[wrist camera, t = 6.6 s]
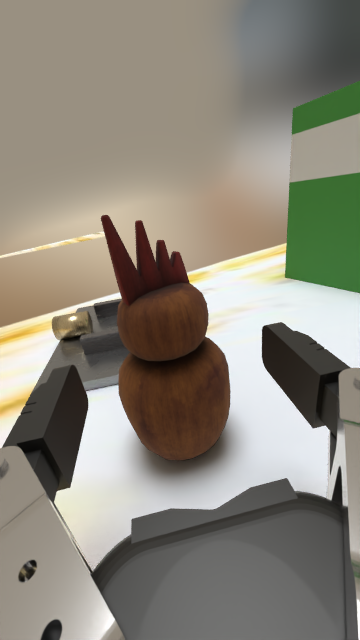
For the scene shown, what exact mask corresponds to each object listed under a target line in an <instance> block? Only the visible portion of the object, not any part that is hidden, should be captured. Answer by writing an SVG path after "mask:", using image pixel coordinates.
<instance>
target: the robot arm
mask: <svg viewBox="0 0 360 640" xmlns="http://www.w3.org/2000/svg"><path fill="white" fill-rule="evenodd" d="M262 360H263V363H264V366H265V368H266V370H267V371H268V372H269V374H270V375H271V376H272V377H273V379H274V380H275V381H276V382H277V384H278V385H279V386H280V387H281V389H282V390H283V391H284V392H285V394H286V395H287V396H288V397H289V399H290V400H291V401H292V402H293V404H294V405H295V406H296V408H297V409H298V410H299V411H300V413H301V414H302V415H303V416H304V418H305V419H306V420H307V421H308V423H309V424H310V425H311V426H312V428H317V427H321V426H325V425H326V426H327V428H328V429H329V436H328V486H327V497H326V498H324V497H322V496H319V495H315V494H311V493H306V492H300V491H294V490H293V488H292V486H291V484H290V483H289V481H288V479H287V478H285V479H282V480H278V481H274V482H270V483H266V484H263V485H259V486H255V487H251V488H249V489H248V490H246V491H244V492H243V493H241V494H239V495H238V496H236V497H235V498H233V499H231V500H230V501H228V502H227V503H225V504H223V505H222V506H220V507H218V508H216V509H213V510H201V509H168V510H164V511H160V512H157V513H153V514H149V515H145V516H141V517H138V518H134V519H132V528H131V535H130V536H128V537H126V538H125V539H124V540H122V541H121V542H120V543H118V544H117V545H116V546H115V547H114V548H113V549H112V550H111V551H110V552H109V553H108V554H107V555H106V556H105V557H104V558H103V559H102V560H101V562H100V563H99V564H98V565H97V567H96V568H95V569H94V571H93V569H92V567H91V566H90V564H89V562H88V561H87V559H86V557H85V556H84V554H83V552H82V550H81V549H80V547H79V545H78V543H77V542H76V540H75V538H74V536H73V535H72V533H71V531H70V529H69V528H68V526H67V524H66V522H65V521H64V519H63V517H62V515H61V514H60V512H59V510H58V508H57V507H56V505H55V503H54V500H55V496H56V492H57V491H58V490H62V489H66V488H70V486H71V482H72V477H73V473H74V468H75V464H76V459H77V455H78V451H79V446H80V442H81V437H82V433H83V428H84V424H85V419H86V415H87V411H88V398H87V394H86V391H85V388H84V386H83V383H82V381H81V378H80V376H79V373H78V370H77V368H76V367H75V365H68V366H64V367H59V368H54V369H53V370H52V372H51V374H50V376H49V378H48V380H47V382H46V383H42V384H41V385H40V386H39V387H38V388H37V389H36V390H35V391H34V392H32V393H31V395H30V397H29V399H28V401H27V402H26V404H25V405H26V406H25V407H24V408H23V410H22V412H21V415H20V416H19V417H18V419H17V421H16V423H15V425H14V426H13V428H12V430H11V432H10V434H9V436H8V437H7V439H6V441H5V443H4V445H3V447H2V448H1V449H0V640H360V368H350V367H349V366H348V365H346V364H345V363H344V362H342V361H341V360H340V359H338V358H337V357H336V356H334V355H333V354H332V353H330V352H329V351H328V350H327V349H324V347H323V346H321V345H320V344H319V343H318V344H317V342H316V341H315V340H313V339H312V338H311V337H309V336H308V335H306V334H303V333H300V332H298V331H292V330H291V329H290V328H289V327H287V326H286V325H285V324H284V323H282V322H280V323H275V324H270V325H265V326H263V329H262Z"/></svg>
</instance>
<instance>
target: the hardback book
mask: <svg viewBox="0 0 360 640" xmlns="http://www.w3.org/2000/svg"><path fill="white" fill-rule="evenodd" d="M289 185H290V186H289V208H288V228H287V248H286V270H285V277H286V278H291V279H295V280H300V281H305V282H310V283H314V284H319V285H324V286H329V287H334V288H338V289H343V290H348V291H353V292H357V293H360V81H359V82H356V83H354V84H351V85H349V86H346V87H344V88H342V89H339V90H337V91H334V92H332V93H329V94H327V95H325V96H322V97H320V98H317V99H315V100H313V101H310V102H308V103H305V104H303V105H300V106H298V107H296V108H293V120H292V142H291V163H290V184H289Z"/></svg>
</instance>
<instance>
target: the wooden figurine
mask: <svg viewBox="0 0 360 640" xmlns="http://www.w3.org/2000/svg"><path fill="white" fill-rule="evenodd" d="M101 221H102V225H103V229H104V233H105V237H106V240H107V244H108V248H109V252H110V256H111V260H112V264H113V267H114V272H115V276H116V279H117V283H118V287H119V290H120V293H121V297H122V300H121V302H120V303H119V305H118V313H117V326H118V331H119V335H120V338H121V340H122V342H123V344H124V346H125V347H126V348H127V349H128V350H129V351H130V353H129V354H128V355H127V357H126V358H125V360H124V361H123V363H122V365H121V367H120V369H119V379H118V383H119V396H120V399H121V402H122V405H123V408H124V410H125V412H126V415H127V417H128V419H129V421H130V423H131V425H132V426H133V428H134V430H135V432H136V433H137V435H138V437H139V439H140V440H141V442H142V443H143V444H144V445H145V446H146V448H147V449H148V450H150V451H152V452H154V453H155V454H157V455H159V456H161V457H163V458H164V459H167V460H185V459H191V458H194V457H196V456H198V455H200V454H203V453H205V452H206V451H207V450H208V449H210V448H211V447H212V446H213V445H214V444H215V443H216V441H217V440H218V438H219V436H220V434H221V433H222V431H223V429H224V427H225V424H226V422H227V419H228V415H229V408H230V383H229V370H228V364H227V361H226V358H225V355H224V353H223V352H222V351H221V349H220V348H219V347H218V346H217V345H216V344H215V343H214V342H213V341H212V340H210V339H209V338H207V337H205V335H206V331H207V326H208V309H207V303H206V301H205V299H204V297H203V294H202V293H201V292H200V291H199V290H198V289H196V288H195V287H194V286H193V285H191V284H190V283H189V280H188V276H187V273H186V270H185V267H184V263H183V261H182V258H181V255H180V253H179V252H174V251H173V252H172V255H171V258H170V259H169V256H168V252H167V249H166V245H165V242H164V240H157V243H156V262H155V259H154V256H153V253H152V250H151V247H150V244H149V241H148V238H147V235H146V232H145V229H144V226H143V223H142V221H141V220H140V221H136V222H135V230H136V255H137V270H136V268H135V266H134V264H133V262H132V260H131V258H130V257H129V254H128V252H127V250H126V248H125V246H124V244H123V243H122V241H121V239H120V237H119V235H118V233H117V231H116V229H115V227H114V225H113V223H112V221H111V219H110V217H109V216H108V215H103V216H102V217H101Z"/></svg>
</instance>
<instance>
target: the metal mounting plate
mask: <svg viewBox="0 0 360 640" xmlns="http://www.w3.org/2000/svg"><path fill="white" fill-rule="evenodd" d="M121 300H122V299H117V300H111V301H106V302H100V303H95V304H94V306H89V307H83V308H78V309H77V311H76V313H73V314H67V315H62V316H56V317H54V318H53V319H52V329H53V333H54V335H55V337H56V338H57V339H58V340H60V342H59V344H58V346H57V347H56V349H55V351H54V353H53V355H52V357H51V358H50V360H49V362H48V364H47V366H46V367H45V369H44V371H43V373H42V375H41V377H40V378H39V380H38V382H37V384H36V386H35V387H34V389H33V391H32V392H34V391H35V390H36V389H37V388H38V387H39V386H40V385H41V384H42V383H46V382H47V380H48V378H49V376H50V374H51V372H52V370H53V369H54V368H59V367H64V366H68V365H75V367H76V368H77V370H78V373H79V376H80V378H81V381H82V383H83V386H84V388H85V391H86V390H91V389H96V388H100V387H105V386H110V385H115V384H119V383H118V379H119V369H120V367H121V365H122V363H123V361H124V360H125V358H126V357H127V355H128V354H129V353H130V351H129V350H128V349H127V348H126V347H125V346H124V344H123V342H122V340H121V338H120V335H119V331H118V326H117V313H118V305H119V303H120V302H121Z"/></svg>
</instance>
